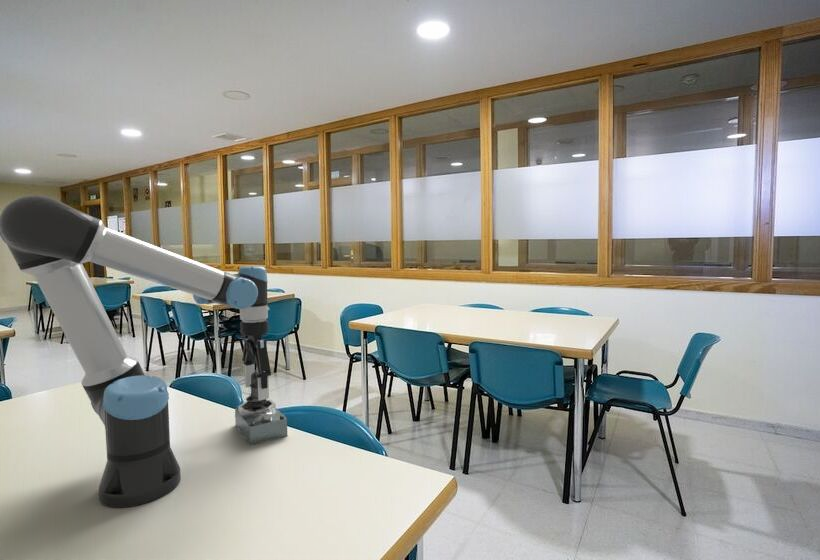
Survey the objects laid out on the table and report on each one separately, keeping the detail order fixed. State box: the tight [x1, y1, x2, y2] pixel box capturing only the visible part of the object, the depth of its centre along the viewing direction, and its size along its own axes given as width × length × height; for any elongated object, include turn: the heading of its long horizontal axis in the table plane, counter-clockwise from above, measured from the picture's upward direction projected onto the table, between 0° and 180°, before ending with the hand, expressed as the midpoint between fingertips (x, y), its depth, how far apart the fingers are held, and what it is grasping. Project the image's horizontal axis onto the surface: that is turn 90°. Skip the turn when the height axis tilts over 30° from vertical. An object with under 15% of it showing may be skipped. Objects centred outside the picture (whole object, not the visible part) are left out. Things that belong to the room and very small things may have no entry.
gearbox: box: [234, 399, 288, 446], centre depth 124 cm, size 16×10×7 cm, turn 35°
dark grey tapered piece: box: [245, 369, 266, 411], centre depth 126 cm, size 6×6×12 cm
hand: (256, 392), depth 126 cm, fingers open, 13 cm apart
